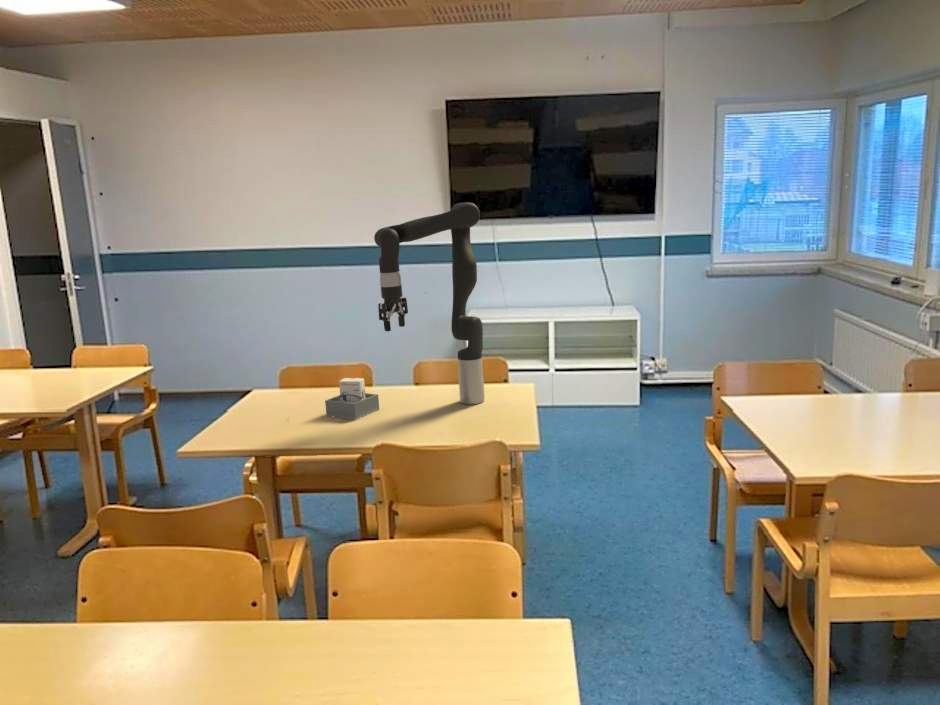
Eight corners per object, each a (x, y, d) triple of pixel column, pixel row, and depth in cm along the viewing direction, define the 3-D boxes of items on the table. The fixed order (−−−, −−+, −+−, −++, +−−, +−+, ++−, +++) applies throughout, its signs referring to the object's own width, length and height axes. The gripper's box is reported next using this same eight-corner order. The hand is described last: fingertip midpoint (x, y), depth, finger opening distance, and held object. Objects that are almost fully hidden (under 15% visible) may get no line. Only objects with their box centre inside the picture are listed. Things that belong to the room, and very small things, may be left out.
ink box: (340, 411, 274) (338, 381, 272) (345, 407, 279) (343, 378, 276) (362, 411, 272) (359, 381, 270) (367, 408, 277) (364, 378, 275)
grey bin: (350, 406, 285) (349, 391, 283) (379, 409, 278) (378, 394, 276) (326, 416, 273) (325, 400, 272) (356, 420, 266) (354, 404, 265)
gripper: (387, 287, 254) (391, 333, 258) (411, 281, 266) (414, 325, 270) (370, 287, 258) (374, 332, 262) (394, 281, 270) (398, 324, 273)
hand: (395, 328), depth 266 cm, fingers open, 8 cm apart
